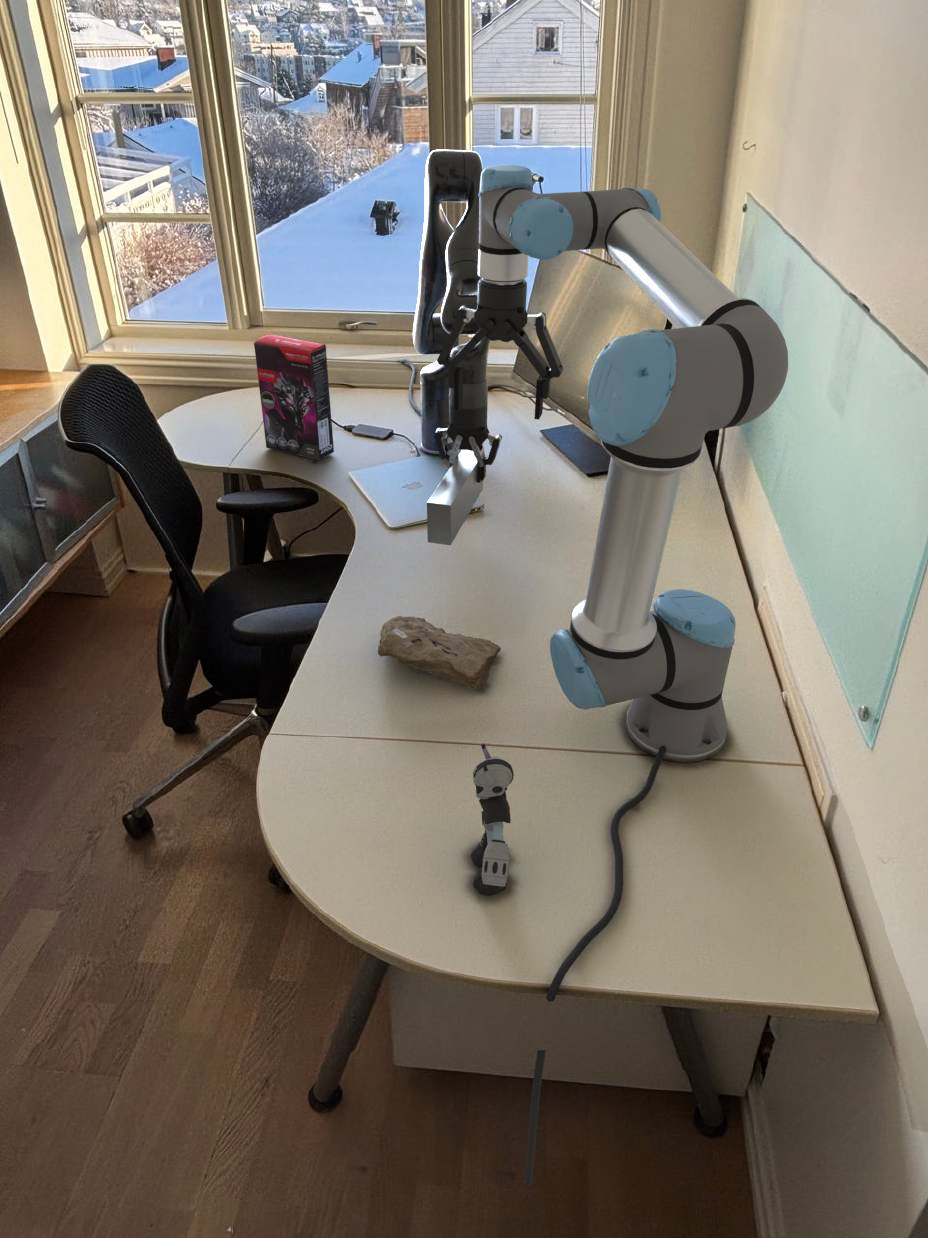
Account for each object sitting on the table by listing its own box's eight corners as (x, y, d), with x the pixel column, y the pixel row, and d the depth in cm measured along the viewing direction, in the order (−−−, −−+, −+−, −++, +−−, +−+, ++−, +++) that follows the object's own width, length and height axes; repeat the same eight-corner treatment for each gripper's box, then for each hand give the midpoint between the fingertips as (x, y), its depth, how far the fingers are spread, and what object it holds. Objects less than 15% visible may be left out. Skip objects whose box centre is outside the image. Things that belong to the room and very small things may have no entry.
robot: (515, 932, 112) (522, 815, 100) (475, 934, 111) (478, 816, 100) (502, 814, 128) (507, 701, 117) (467, 815, 128) (468, 702, 117)
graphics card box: (263, 448, 231) (250, 340, 216) (280, 439, 236) (269, 332, 221) (320, 462, 224) (310, 351, 209) (336, 452, 230) (328, 343, 214)
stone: (354, 663, 151) (360, 631, 149) (385, 632, 165) (392, 602, 162) (474, 706, 148) (483, 673, 145) (496, 671, 161) (504, 640, 159)
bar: (450, 545, 175) (450, 505, 170) (427, 542, 176) (426, 502, 171) (482, 489, 194) (483, 452, 190) (461, 486, 195) (462, 449, 191)
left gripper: (508, 397, 181) (505, 476, 191) (438, 389, 184) (439, 468, 194) (499, 410, 175) (497, 492, 185) (427, 403, 178) (428, 483, 188)
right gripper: (588, 279, 140) (576, 411, 152) (431, 266, 146) (432, 395, 158) (579, 292, 134) (568, 428, 146) (416, 277, 140) (419, 411, 152)
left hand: (467, 479), depth 189 cm, fingers closed on bar, 4 cm apart
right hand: (497, 411), depth 152 cm, fingers open, 13 cm apart
